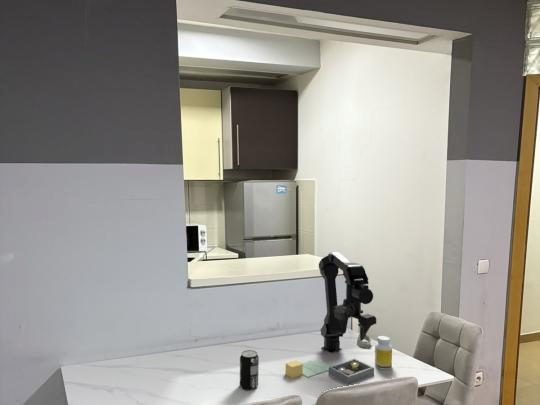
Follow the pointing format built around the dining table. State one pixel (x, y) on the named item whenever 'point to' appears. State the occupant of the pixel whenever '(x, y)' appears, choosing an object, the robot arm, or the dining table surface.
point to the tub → (362, 373)
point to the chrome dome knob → (341, 369)
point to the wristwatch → (363, 342)
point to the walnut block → (348, 372)
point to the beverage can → (249, 370)
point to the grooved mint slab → (306, 368)
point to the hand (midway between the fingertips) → (352, 336)
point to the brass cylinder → (354, 366)
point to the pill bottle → (383, 353)
